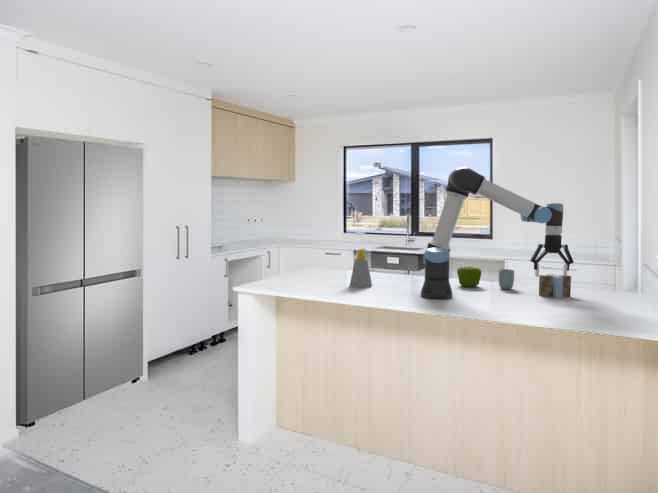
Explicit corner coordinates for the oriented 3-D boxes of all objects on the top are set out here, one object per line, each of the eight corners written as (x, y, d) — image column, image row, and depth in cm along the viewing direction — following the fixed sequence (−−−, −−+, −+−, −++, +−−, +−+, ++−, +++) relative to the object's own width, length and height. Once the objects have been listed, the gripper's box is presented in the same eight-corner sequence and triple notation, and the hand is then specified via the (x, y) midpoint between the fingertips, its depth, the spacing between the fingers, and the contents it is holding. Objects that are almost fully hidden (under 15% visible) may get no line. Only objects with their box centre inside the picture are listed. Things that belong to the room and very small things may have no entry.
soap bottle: (376, 285, 277) (376, 248, 275) (365, 288, 266) (365, 250, 265) (356, 283, 284) (356, 247, 282) (345, 286, 273) (345, 249, 271)
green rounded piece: (485, 286, 272) (486, 266, 271) (470, 289, 265) (470, 267, 264) (467, 283, 283) (467, 263, 282) (452, 285, 276) (452, 265, 275)
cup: (514, 290, 261) (515, 271, 260) (499, 289, 263) (499, 271, 262) (512, 287, 269) (513, 269, 268) (497, 287, 270) (497, 269, 270)
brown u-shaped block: (540, 296, 245) (541, 276, 244) (538, 295, 248) (539, 275, 247) (570, 296, 244) (571, 276, 243) (567, 295, 247) (568, 275, 246)
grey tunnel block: (546, 293, 252) (547, 273, 251) (552, 293, 252) (553, 274, 251) (555, 298, 240) (556, 277, 239) (562, 298, 240) (563, 277, 239)
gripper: (530, 234, 245) (527, 277, 246) (582, 235, 243) (579, 278, 245) (525, 233, 252) (522, 275, 254) (576, 234, 250) (573, 276, 252)
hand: (550, 276), depth 249 cm, fingers open, 13 cm apart
